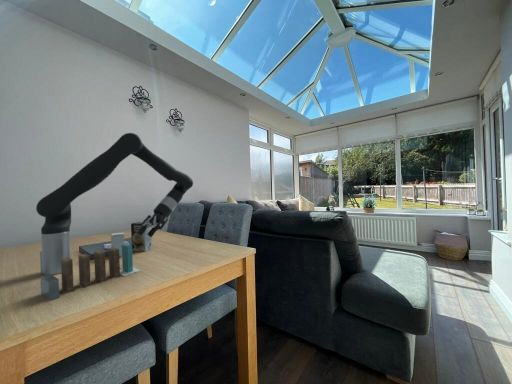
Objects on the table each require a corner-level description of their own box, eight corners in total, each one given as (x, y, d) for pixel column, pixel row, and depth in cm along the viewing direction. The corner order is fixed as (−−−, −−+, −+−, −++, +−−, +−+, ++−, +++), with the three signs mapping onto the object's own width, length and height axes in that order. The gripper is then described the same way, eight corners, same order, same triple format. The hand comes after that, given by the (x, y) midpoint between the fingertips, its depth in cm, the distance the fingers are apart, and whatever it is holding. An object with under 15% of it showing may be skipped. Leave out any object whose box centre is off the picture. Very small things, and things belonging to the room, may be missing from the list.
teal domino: (128, 272, 92) (127, 246, 92) (122, 270, 94) (121, 244, 94) (132, 271, 93) (131, 245, 93) (127, 269, 96) (126, 244, 96)
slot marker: (123, 276, 88) (123, 275, 88) (114, 272, 93) (114, 272, 93) (140, 270, 94) (140, 270, 94) (131, 267, 99) (131, 267, 99)
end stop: (49, 300, 70) (48, 281, 70) (41, 294, 75) (40, 276, 75) (59, 297, 72) (58, 279, 72) (51, 291, 77) (50, 274, 77)
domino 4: (115, 277, 87) (114, 250, 87) (109, 275, 90) (108, 248, 90) (120, 276, 89) (119, 249, 89) (114, 273, 92) (113, 247, 92)
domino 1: (67, 293, 75) (65, 260, 75) (62, 289, 78) (60, 258, 78) (73, 291, 76) (72, 259, 76) (68, 287, 79) (67, 257, 79)
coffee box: (131, 251, 127) (130, 223, 127) (138, 248, 134) (137, 221, 133) (145, 251, 126) (144, 223, 126) (152, 248, 132) (151, 221, 132)
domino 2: (84, 287, 79) (83, 256, 79) (79, 284, 82) (78, 254, 82) (90, 285, 81) (89, 255, 80) (85, 282, 83) (84, 253, 83)
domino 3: (100, 282, 83) (99, 253, 83) (95, 279, 86) (94, 251, 86) (106, 280, 85) (104, 252, 85) (100, 278, 88) (99, 250, 87)
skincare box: (111, 258, 114) (110, 235, 114) (111, 256, 118) (110, 233, 118) (125, 256, 118) (124, 233, 118) (124, 254, 122) (123, 232, 122)
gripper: (152, 202, 111) (129, 229, 102) (169, 202, 103) (146, 231, 93) (162, 212, 115) (141, 238, 106) (179, 212, 107) (158, 241, 98)
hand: (144, 235), depth 100 cm, fingers open, 8 cm apart
